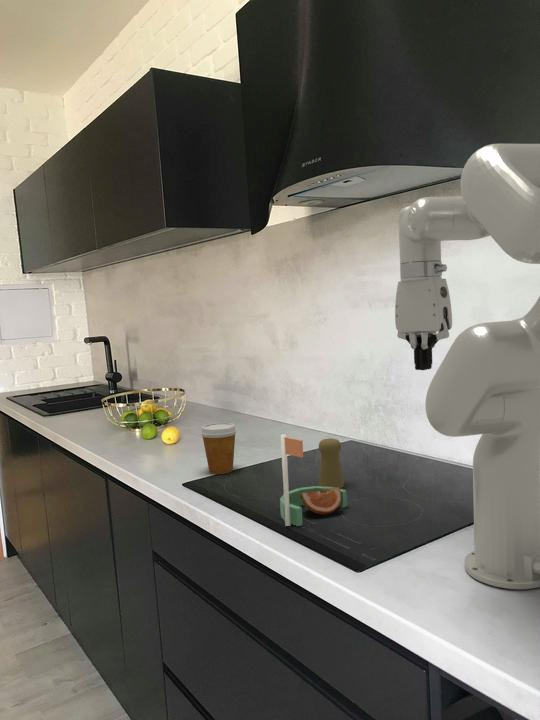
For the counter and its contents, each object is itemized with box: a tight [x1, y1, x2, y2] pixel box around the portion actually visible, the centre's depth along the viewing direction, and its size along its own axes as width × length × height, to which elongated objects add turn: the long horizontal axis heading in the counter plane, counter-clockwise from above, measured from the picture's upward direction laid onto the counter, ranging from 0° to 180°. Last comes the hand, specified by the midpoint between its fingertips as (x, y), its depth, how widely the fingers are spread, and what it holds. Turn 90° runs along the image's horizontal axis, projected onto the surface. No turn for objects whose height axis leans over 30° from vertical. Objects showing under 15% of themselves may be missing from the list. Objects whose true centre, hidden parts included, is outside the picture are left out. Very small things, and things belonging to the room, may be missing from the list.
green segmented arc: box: [279, 433, 348, 527], centre depth 119 cm, size 12×16×18 cm
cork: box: [318, 437, 345, 489], centre depth 137 cm, size 6×6×11 cm
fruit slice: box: [301, 487, 341, 516], centre depth 120 cm, size 8×7×5 cm
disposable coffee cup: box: [200, 422, 238, 475], centre depth 154 cm, size 10×10×12 cm
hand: (423, 369), depth 112 cm, fingers closed
